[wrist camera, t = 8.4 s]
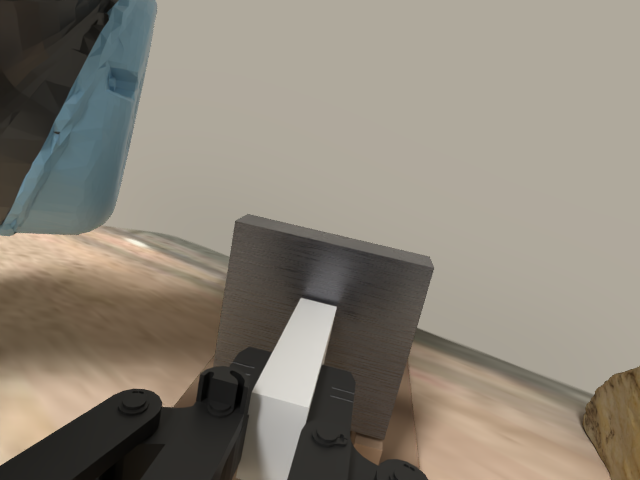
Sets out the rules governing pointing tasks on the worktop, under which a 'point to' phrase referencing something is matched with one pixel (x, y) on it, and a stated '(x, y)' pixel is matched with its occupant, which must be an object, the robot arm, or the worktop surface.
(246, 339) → the push plunger
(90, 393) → the worktop surface
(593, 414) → the rock
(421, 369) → the worktop surface
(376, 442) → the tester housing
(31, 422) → the worktop surface
